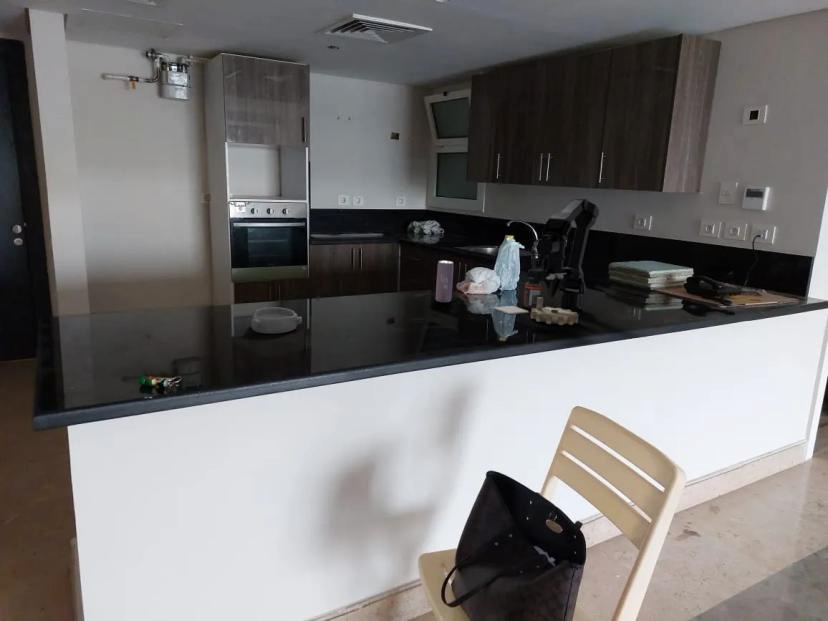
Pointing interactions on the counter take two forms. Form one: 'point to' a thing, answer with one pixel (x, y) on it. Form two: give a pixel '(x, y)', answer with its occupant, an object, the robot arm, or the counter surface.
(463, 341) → the counter surface
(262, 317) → the dish
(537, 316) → the sprocket
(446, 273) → the beverage can
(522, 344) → the counter surface
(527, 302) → the supplement bottle
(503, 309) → the pad
